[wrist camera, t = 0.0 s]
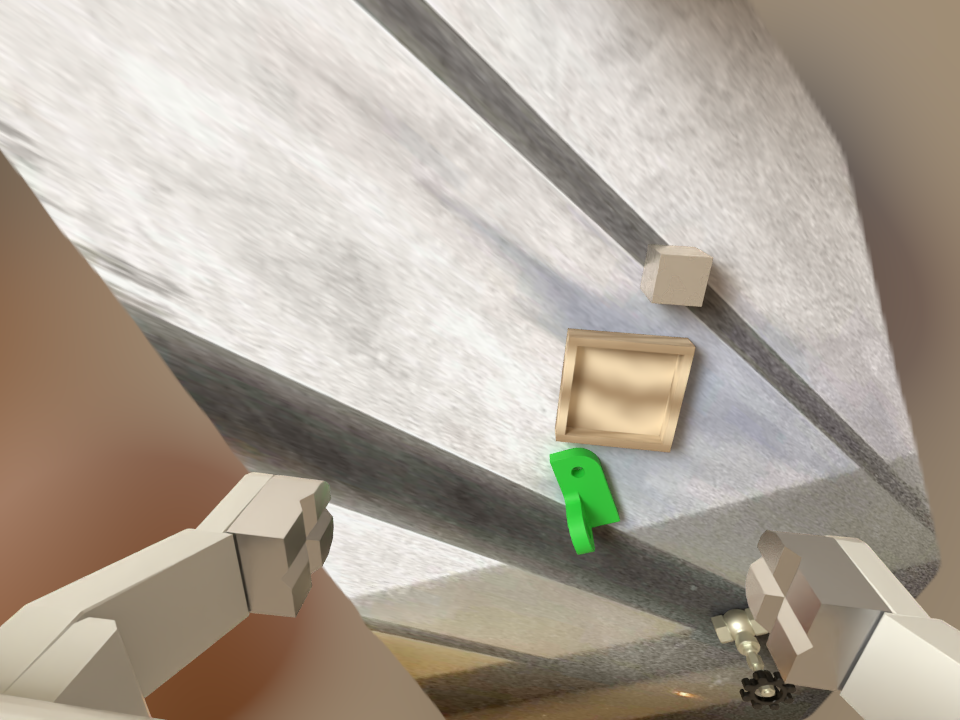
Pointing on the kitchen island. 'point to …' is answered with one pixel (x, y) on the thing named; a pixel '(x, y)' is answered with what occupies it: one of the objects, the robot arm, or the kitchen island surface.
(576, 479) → the mechanical part
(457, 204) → the kitchen island surface
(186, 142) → the kitchen island surface
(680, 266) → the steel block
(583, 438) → the tray
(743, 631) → the valve
